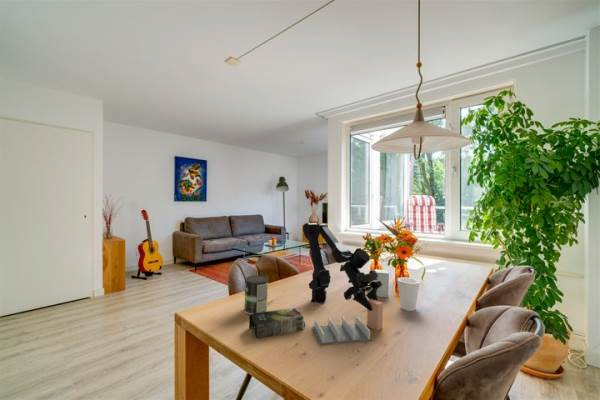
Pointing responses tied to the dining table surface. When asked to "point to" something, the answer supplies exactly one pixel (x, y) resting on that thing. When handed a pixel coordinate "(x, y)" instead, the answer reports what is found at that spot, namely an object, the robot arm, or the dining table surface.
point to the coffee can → (256, 294)
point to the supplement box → (383, 283)
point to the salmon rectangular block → (375, 314)
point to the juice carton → (276, 322)
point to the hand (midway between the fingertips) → (375, 309)
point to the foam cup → (408, 293)
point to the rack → (341, 332)
